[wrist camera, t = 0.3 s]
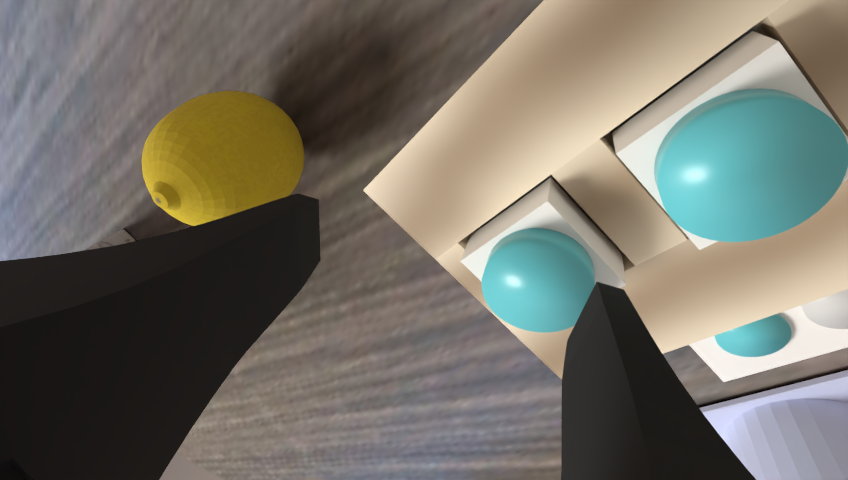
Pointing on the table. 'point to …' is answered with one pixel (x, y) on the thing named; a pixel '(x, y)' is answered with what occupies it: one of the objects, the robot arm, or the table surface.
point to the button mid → (738, 147)
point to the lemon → (221, 156)
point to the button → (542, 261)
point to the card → (778, 338)
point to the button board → (605, 172)
